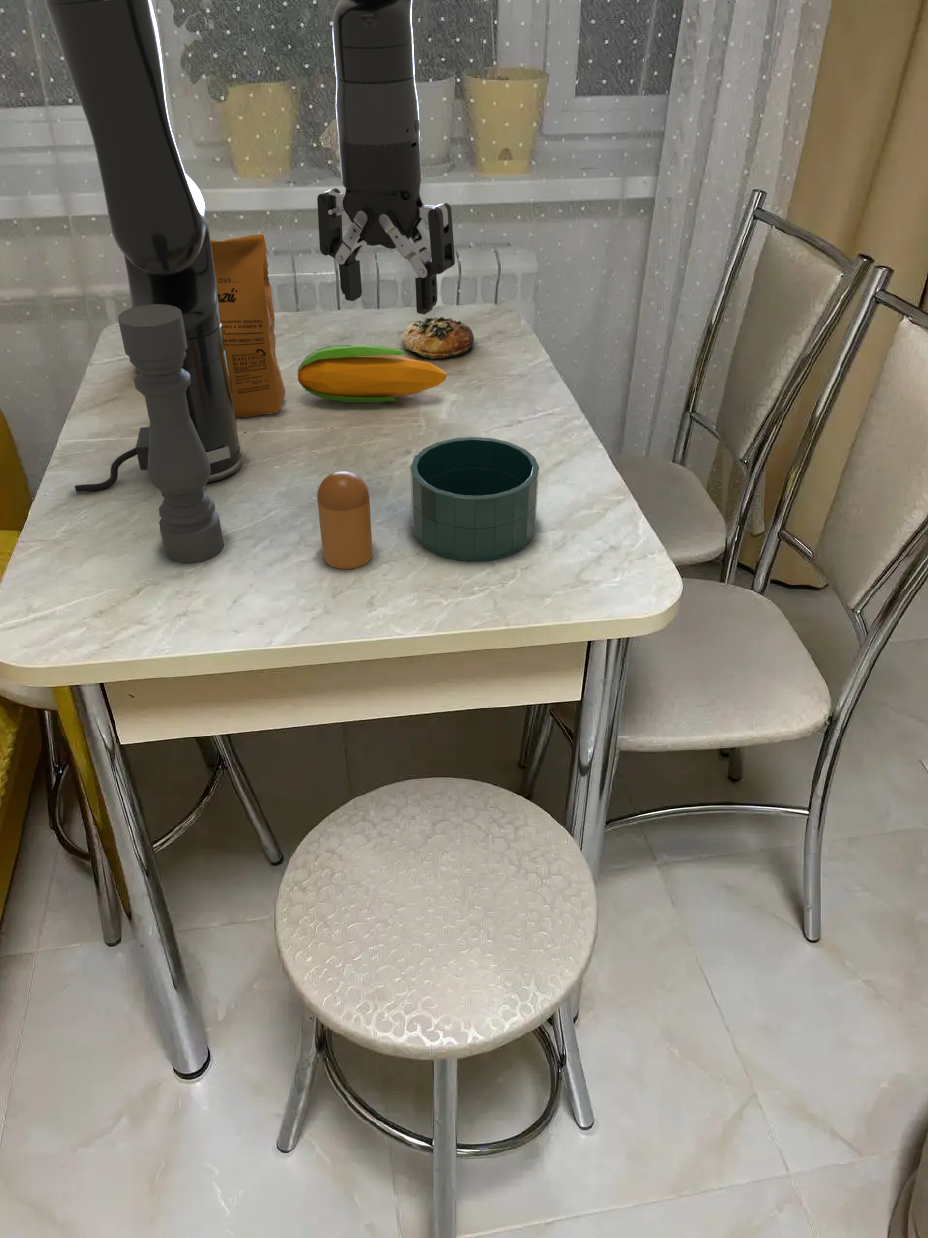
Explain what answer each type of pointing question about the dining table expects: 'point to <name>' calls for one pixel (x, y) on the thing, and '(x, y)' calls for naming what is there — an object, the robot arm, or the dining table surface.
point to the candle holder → (172, 432)
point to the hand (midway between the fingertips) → (389, 305)
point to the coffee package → (248, 324)
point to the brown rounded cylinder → (345, 520)
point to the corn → (365, 374)
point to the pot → (474, 498)
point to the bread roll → (438, 337)
